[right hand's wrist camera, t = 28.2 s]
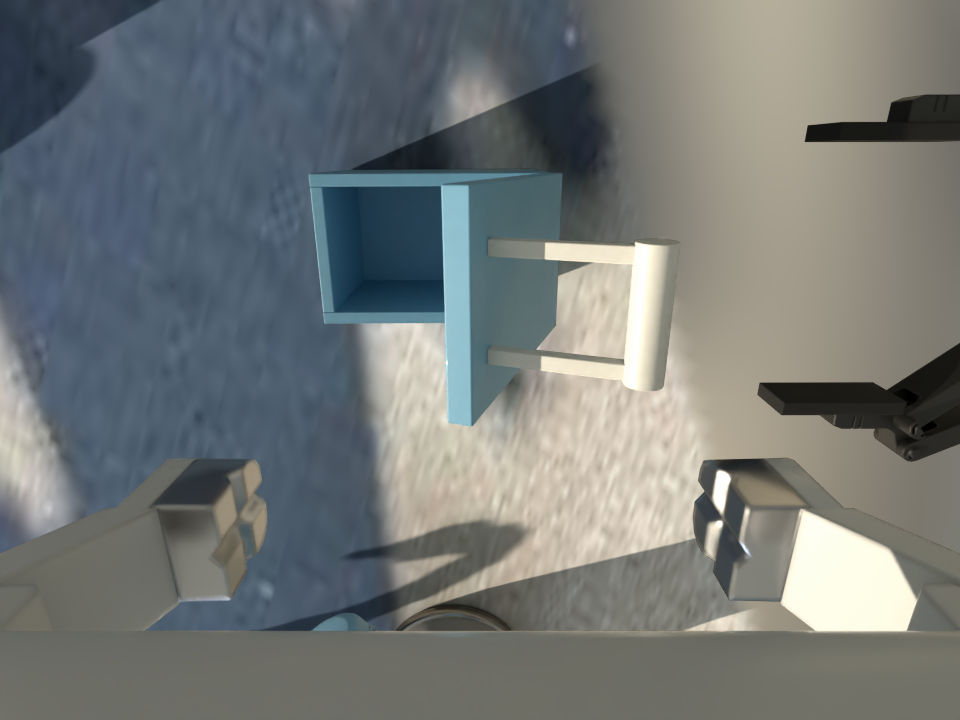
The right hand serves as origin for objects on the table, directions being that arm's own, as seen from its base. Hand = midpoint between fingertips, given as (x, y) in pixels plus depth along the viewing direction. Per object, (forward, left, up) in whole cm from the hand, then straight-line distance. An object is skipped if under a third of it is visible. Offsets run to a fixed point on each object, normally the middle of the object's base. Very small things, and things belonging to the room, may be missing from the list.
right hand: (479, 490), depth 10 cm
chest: (-1, -3, -39) cm, 39 cm away
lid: (0, +1, -20) cm, 20 cm away
